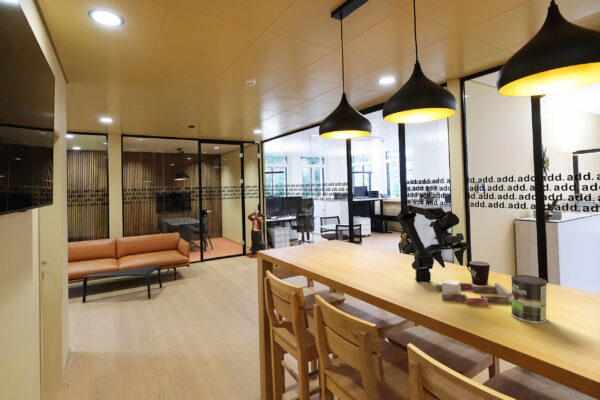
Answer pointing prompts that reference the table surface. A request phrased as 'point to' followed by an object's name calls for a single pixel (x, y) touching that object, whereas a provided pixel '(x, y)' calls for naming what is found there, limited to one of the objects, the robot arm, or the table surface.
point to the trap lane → (469, 287)
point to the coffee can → (529, 298)
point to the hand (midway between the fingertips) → (453, 266)
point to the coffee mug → (479, 272)
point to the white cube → (451, 287)
